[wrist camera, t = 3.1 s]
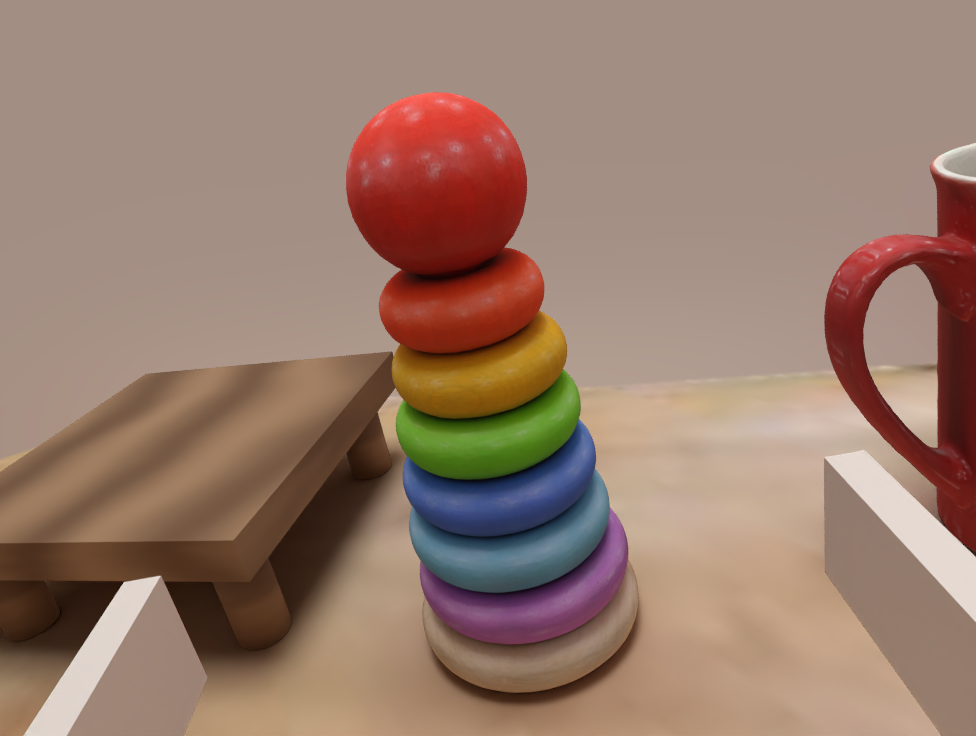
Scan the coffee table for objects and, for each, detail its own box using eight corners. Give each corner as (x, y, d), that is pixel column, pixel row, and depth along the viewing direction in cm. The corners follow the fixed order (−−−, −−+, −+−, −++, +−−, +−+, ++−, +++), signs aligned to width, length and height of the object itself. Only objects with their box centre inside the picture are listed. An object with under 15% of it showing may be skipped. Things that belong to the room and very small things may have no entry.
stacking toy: (413, 586, 30) (280, 119, 23) (591, 528, 31) (519, 69, 24) (453, 739, 23) (276, 128, 16) (682, 655, 24) (617, 56, 17)
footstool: (-38, 655, 31) (-108, 544, 29) (180, 459, 45) (145, 374, 43) (285, 670, 27) (233, 540, 25) (417, 447, 41) (392, 351, 39)
